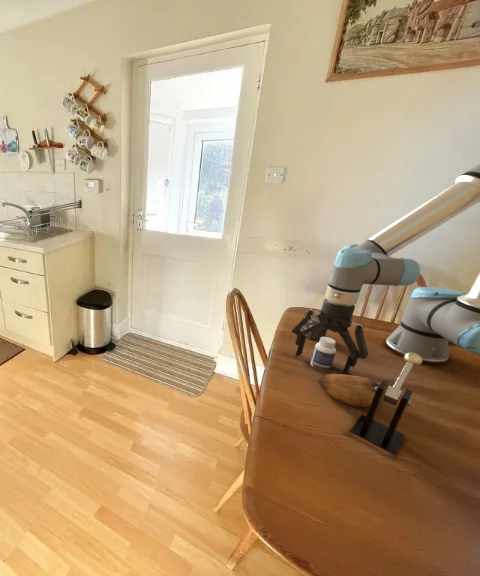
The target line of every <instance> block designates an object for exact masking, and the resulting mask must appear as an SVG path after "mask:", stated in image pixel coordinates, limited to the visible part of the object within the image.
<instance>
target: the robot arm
mask: <svg viewBox="0 0 480 576" xmlns="http://www.w3.org/2000/svg"><path fill="white" fill-rule="evenodd" d="M478 203H480V163H479V164H477V165H475V166H473V167H472V168H470V169H468V170H467V171H466V172H464V173H462V174H461V175H459V176H458V177H456V179H455V181H454V183H453V184H452V185H450V186H449V187H447V188H445V189H444V190H442V191H441V192H440V193H438V194H437V195H434V196H433V197H431V198H430V199H429V200H427V201H425V202H424V203H422V204H421V205H419V206H417V207H416V208H415V209H413V210H411V211H410V212H408V213H406V214H405V215H404V216H401V217H400V218H399V219H397V220H396V221H394V222H393V223H391V224H389V225H387V226H386V227H385V228H383V229H382V230H380V231H379V232H377V233H375V234H374V235H372V236H371V237H369V238H367V239H366V240H364V241H363V242H361V243H359V244H357V243H356V244H355V243H352V244H347V245H345V246H343V248H341V249H340V250H339V251H338V252H337V254H336V257H335V258H334V261H333V264H332V265H333V267H332V270H331V274H330V276H329V280H328V284H327V287H326V291H325V294H324V299H323V302H322V304H321V308H320V311H317V310H316V309H315V308H311V309H309V310H307V312H306V314H305V315H306V317H305V318H304V319H303V318H302V319H303V320H301V321H299V322H298V323H297V324H296V326H295V327H294V328H293V329H292V330H291V333H292V334H294V335H296V340H295V345H296V346H297V349H296V352H295V356H297V357H299V356H301V355H302V354H303V350H304V347H305V343H306V339H307V337H306V336H305V334H307V333H309V332H311V331H313V330H315V329H317V328H319V327H321V326H322V327H324V329H327V331H331V332H332V333H338V335H339V336H340V337H341V338H342V341H343V342H344V344H345V346H346V347H347V350H348V352H349V353H350V354H349V355H348V356H347V358H346V362H345V365H344V368H343V370H342V372H341V374H344V375H348V374H349V371H350V368H354V367H355V366H356V365H357V363H358V360H359V359H362V360H365V359H366V358H367V357H368V356H369V351H368V346H367V343H366V339H365V338H366V337H365V334H364V329H365V324H364V323H356V322H353V320H352V318H353V315H354V312H355V309H356V305H357V303H358V300H359V297H360V293H361V291H362V289H363V285H374V286H375V285H376V286H377V285H378V286H394V287H397V286H398V287H401V286H403V287H404V286H406V287H407V286H411V285H414V284H415V283H416V282H417V281H418V279H419V277H420V275H421V267H420V265H419V262H418V261H416V260H414V259H411V258H404V257H400V258H399V257H392V255H394V254H396V253H397V252H398V251H400V250H403V249H404V248H405V247H407V246H409V245H410V244H412V243H414V242H415V241H417V240H419V239H420V238H422V237H424V236H425V235H427V234H429V233H431V232H432V231H433V230H435V229H437V228H439V227H440V226H442V225H444V224H445V223H447V222H448V221H450V220H453V219H454V218H455V217H457V216H459V215H460V214H462V213H464V212H465V211H467V210H468V209H470V208H472V207H474V206H475V205H477V204H478ZM315 316H318V319H319V321H320V322H318V323H317V324H315V325H313V326H311V327H309V328H307V329H305V330H303V331H300V329H301V328H302V327H303V326H304V325H305V324H306V323H307V322H308V321H309V320H310V319H311V318H312V317H315ZM350 327H351V328H352V330H353V331H354V336H355V341H356V343H355V341H354V340H353V337H352V336H351V334H350V330H349V328H350ZM451 344H455V346H457V347H459V348H460V349H463V350H466V351H468V352H470V353H472V354H474V355H480V272H478V274H477V277H476V278H475V280H474V282H473V284H472V285H471V288H470V289H469V291H468V292H467V293H466V292H464V291H461V290H457V289H451V288H444V287H436V286H419V287H416V288H415V289H413V291H412V292H411V295H410V296H409V299H408V302H407V304H406V307H405V310H404V312H403V316H402V318H401V321H400V323H399V325H398V326H397V328H396V329H394V331H393V332H392V333H390V335H388V337H387V338H386V340H385V342H384V345H385V347H386V348H387V349H388V350H390V351H391V352H392V353H394V354H396V355H398V356H400V357H402V358H403V356H404V355H405V354H406V353H416V354H418V355H419V356H421V358H422V363H421V364H427V365H444V364H446V363H447V362H448V360H449V357H450V350H449V345H451Z"/></svg>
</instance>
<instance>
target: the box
mask: <svg viewBox="0 0 480 576" xmlns="http://www.w3.org/2000/svg"><path fill="white" fill-rule="evenodd" d="M306 315H307V314H303V316H302V320H303V319H304V318H305V317H306ZM302 320H301V321H302ZM318 322H320V321H319V319H318V316H315V317H312V318H311V319H310V320H309V321H308V322H307V323H306V324H305V325H304V326H303V327H302V328H301V329H300V331H303V330H305V329H307V328H309V327H311V326H313V325H315V324H317V323H318ZM327 331H328V330H327V329H324V327H322V326H321V327H319V328H317V329H315V330H313V331H311V332H309V333H307V334H305V335H304V336H306V338H308V339H310V340H319V339H320V338H321V337H326V334H327Z"/></svg>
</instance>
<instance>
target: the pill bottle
mask: <svg viewBox="0 0 480 576" xmlns="http://www.w3.org/2000/svg"><path fill="white" fill-rule="evenodd" d="M336 343H337V341H336V340H335V339H333V338H331V337H328V336H325V337H321V338H319V342H316V343H315V344H314V345H315V346H314V348H313V351H312V355H311V359H310V366H312V367H314V366H315V367H317V368H319V369H325V370H328V369H331V368H332V366H333V363H334V359H335V356H336V353H337V349H336V347H335V346H336Z"/></svg>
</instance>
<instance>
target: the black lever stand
mask: <svg viewBox="0 0 480 576" xmlns="http://www.w3.org/2000/svg"><path fill="white" fill-rule="evenodd" d="M389 383H390V382H389V381H387V380H385V379H383V380H382V381H381V382H380V383H379V386H376V388H375V390H374V392H376V393H375V396H374V398H373V401H372V403H371V405H370V406H369V408H368V411H367V413H366V415H365V414H361V415H360V416H359V418H358V419H357V421H356V422H355V424H353V426H352V427H351V429H350V430H349V432H350V433H351V434H353V435H355V436H357V437H359V438H361V439H363V440H365V441H367V442H369V443H371V444H373V445H374V446H376V447H378V448H380V449H382V450H384V451H386V452H387V453H390V454H391V455H395V454H396V452H397V450H398V448H399V446H400V444H401V442H402V440H403V438H404V437H405V433H402V432H400V431H398V430H397V428H398V426H399V424H400V422H401V420H402V417H403V415H404V413H405V410H406V408H407V406H408V407H410V406H411V405H412V402H413V400H412V399H411V397H412V395H413V392H414V391H413V390H411V389H408V388H406V390H405V391H404V393H403V394H402V395H401V397H400V399H399V401H398V402H399V403H397V407H396V409H395V410H394V411H395V412H394V414H393V416H392V419H391V421H390V423H389V426H387V425H385V424H383V423H381V422H379V421H377V420H375V418H376V415H377V413H378V410H379V408H380V406H381V403H382V401H383V398H384V395H385V393H386V391H387V389H388V387H389V386H388V385H389Z"/></svg>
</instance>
